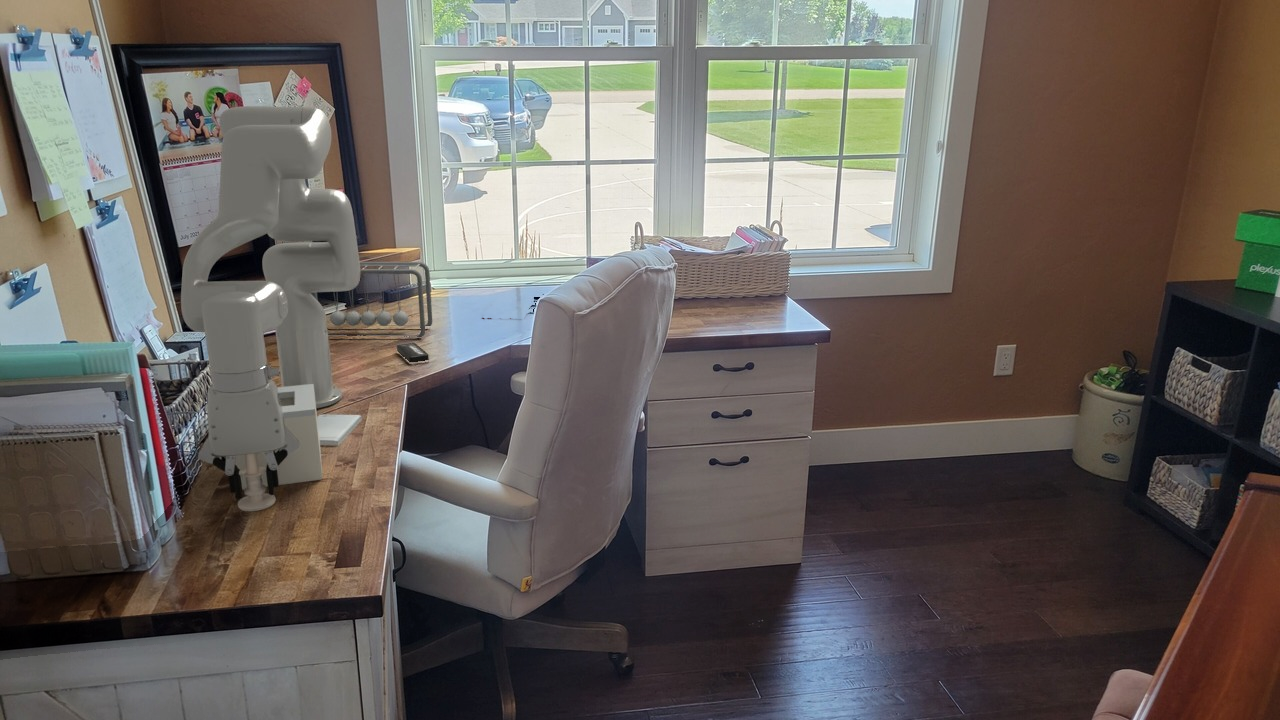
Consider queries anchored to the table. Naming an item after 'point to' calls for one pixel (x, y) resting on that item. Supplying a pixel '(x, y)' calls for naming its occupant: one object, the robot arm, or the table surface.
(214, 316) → the robot arm
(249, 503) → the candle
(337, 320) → the newton's cradle
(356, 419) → the hard drive
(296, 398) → the drop box
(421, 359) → the multiport hub
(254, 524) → the table surface
